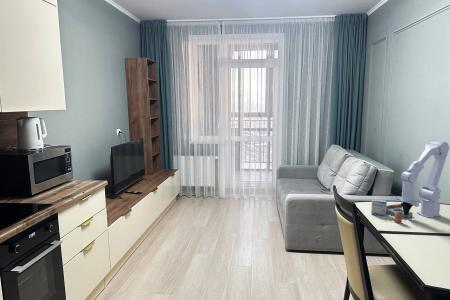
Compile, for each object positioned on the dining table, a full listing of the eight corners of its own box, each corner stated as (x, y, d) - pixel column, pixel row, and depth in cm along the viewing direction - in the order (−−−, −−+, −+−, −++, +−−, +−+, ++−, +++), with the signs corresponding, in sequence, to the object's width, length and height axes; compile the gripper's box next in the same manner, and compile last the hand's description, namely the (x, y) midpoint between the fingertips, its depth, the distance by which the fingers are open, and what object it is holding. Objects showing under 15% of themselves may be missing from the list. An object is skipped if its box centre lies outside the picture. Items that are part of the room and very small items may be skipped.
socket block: (399, 211, 196) (399, 207, 196) (412, 216, 187) (412, 212, 186) (385, 212, 194) (385, 208, 193) (398, 218, 184) (398, 214, 184)
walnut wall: (397, 209, 200) (397, 202, 200) (401, 210, 197) (402, 204, 196) (378, 211, 197) (378, 204, 196) (382, 213, 193) (383, 206, 193)
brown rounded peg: (398, 220, 180) (398, 210, 179) (403, 223, 177) (403, 212, 176) (392, 221, 179) (393, 211, 179) (397, 223, 176) (398, 213, 175)
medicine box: (371, 214, 191) (372, 200, 189) (370, 212, 195) (371, 198, 194) (386, 216, 188) (386, 202, 187) (385, 214, 192) (386, 200, 191)
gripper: (392, 189, 189) (390, 211, 191) (412, 196, 175) (410, 220, 177) (402, 188, 191) (400, 210, 193) (422, 195, 177) (420, 218, 179)
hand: (406, 215), depth 185 cm, fingers closed, pressing on socket block
